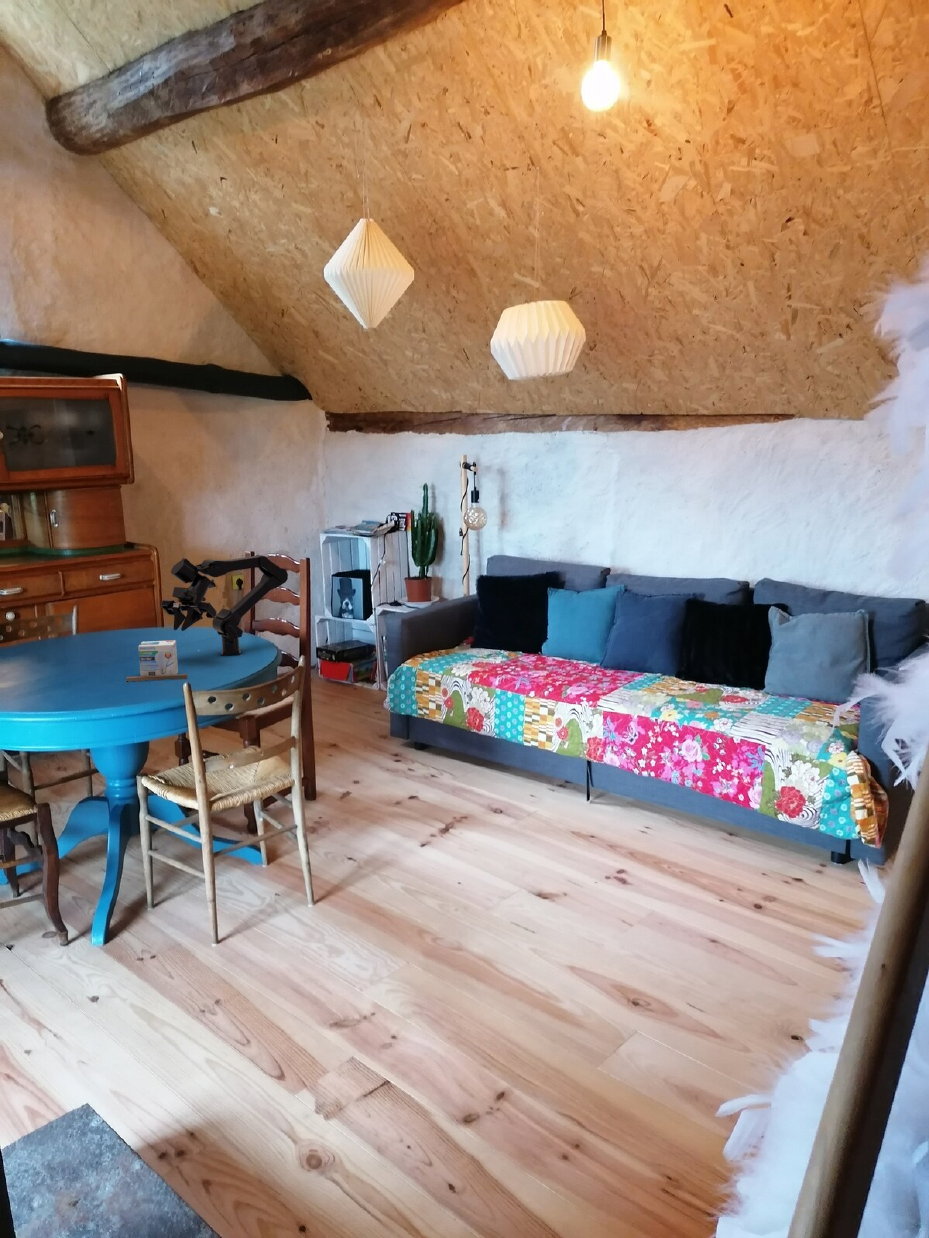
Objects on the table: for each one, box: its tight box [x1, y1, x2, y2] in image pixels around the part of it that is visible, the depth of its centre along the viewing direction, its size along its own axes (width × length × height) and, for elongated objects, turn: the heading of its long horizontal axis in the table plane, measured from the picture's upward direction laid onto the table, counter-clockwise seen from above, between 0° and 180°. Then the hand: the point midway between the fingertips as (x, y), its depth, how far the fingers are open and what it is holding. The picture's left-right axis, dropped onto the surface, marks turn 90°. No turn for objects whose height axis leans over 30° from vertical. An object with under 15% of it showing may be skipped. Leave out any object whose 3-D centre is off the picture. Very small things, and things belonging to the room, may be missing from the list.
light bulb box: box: [137, 639, 179, 676], centre depth 263 cm, size 11×7×11 cm, turn 101°
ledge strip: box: [125, 673, 189, 682], centre depth 259 cm, size 2×18×1 cm, turn 101°
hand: (178, 630), depth 271 cm, fingers open, 3 cm apart
